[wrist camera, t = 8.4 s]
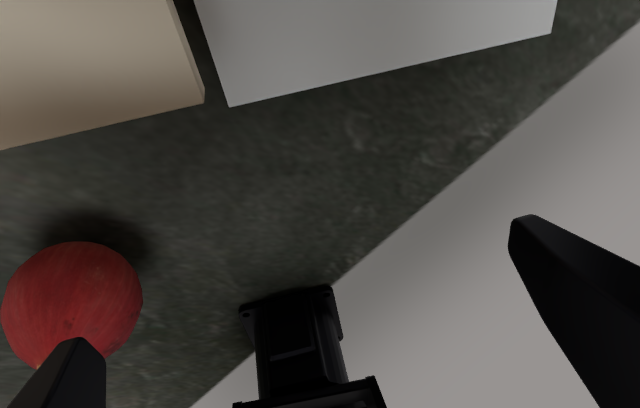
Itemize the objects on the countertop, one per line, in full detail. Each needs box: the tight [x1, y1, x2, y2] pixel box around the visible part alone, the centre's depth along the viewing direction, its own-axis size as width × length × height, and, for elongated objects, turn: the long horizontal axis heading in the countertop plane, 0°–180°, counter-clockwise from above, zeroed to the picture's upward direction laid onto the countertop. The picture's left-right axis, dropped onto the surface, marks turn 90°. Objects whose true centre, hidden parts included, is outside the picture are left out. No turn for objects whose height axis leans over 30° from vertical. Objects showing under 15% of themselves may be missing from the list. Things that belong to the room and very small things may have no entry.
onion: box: [0, 241, 143, 370], centre depth 20 cm, size 6×6×8 cm
